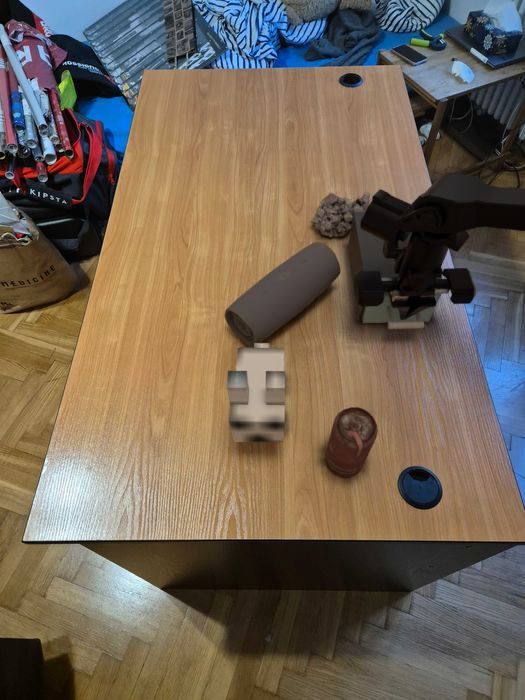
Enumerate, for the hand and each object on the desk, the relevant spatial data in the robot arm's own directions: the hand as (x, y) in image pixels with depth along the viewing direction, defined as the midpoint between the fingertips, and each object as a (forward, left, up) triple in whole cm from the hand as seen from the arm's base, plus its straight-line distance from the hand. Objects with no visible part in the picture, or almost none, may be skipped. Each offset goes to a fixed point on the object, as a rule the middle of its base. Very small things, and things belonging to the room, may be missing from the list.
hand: (402, 317), depth 84 cm
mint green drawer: (+4, -8, -4) cm, 10 cm away
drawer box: (+6, -11, -5) cm, 14 cm away
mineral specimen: (+20, -22, -5) cm, 30 cm away
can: (-1, +27, -5) cm, 28 cm away
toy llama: (+15, +25, -5) cm, 30 cm away
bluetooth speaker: (+21, +4, -5) cm, 22 cm away
